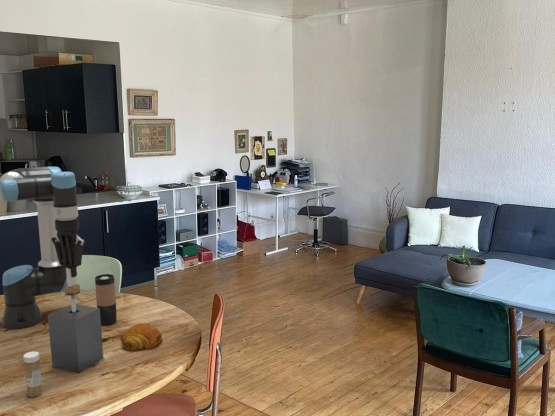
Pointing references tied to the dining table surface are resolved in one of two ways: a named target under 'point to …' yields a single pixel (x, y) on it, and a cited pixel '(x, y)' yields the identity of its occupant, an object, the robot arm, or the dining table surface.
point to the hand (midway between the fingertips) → (72, 285)
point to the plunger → (72, 295)
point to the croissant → (141, 337)
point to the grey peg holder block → (75, 338)
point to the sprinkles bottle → (33, 374)
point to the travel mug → (106, 299)
